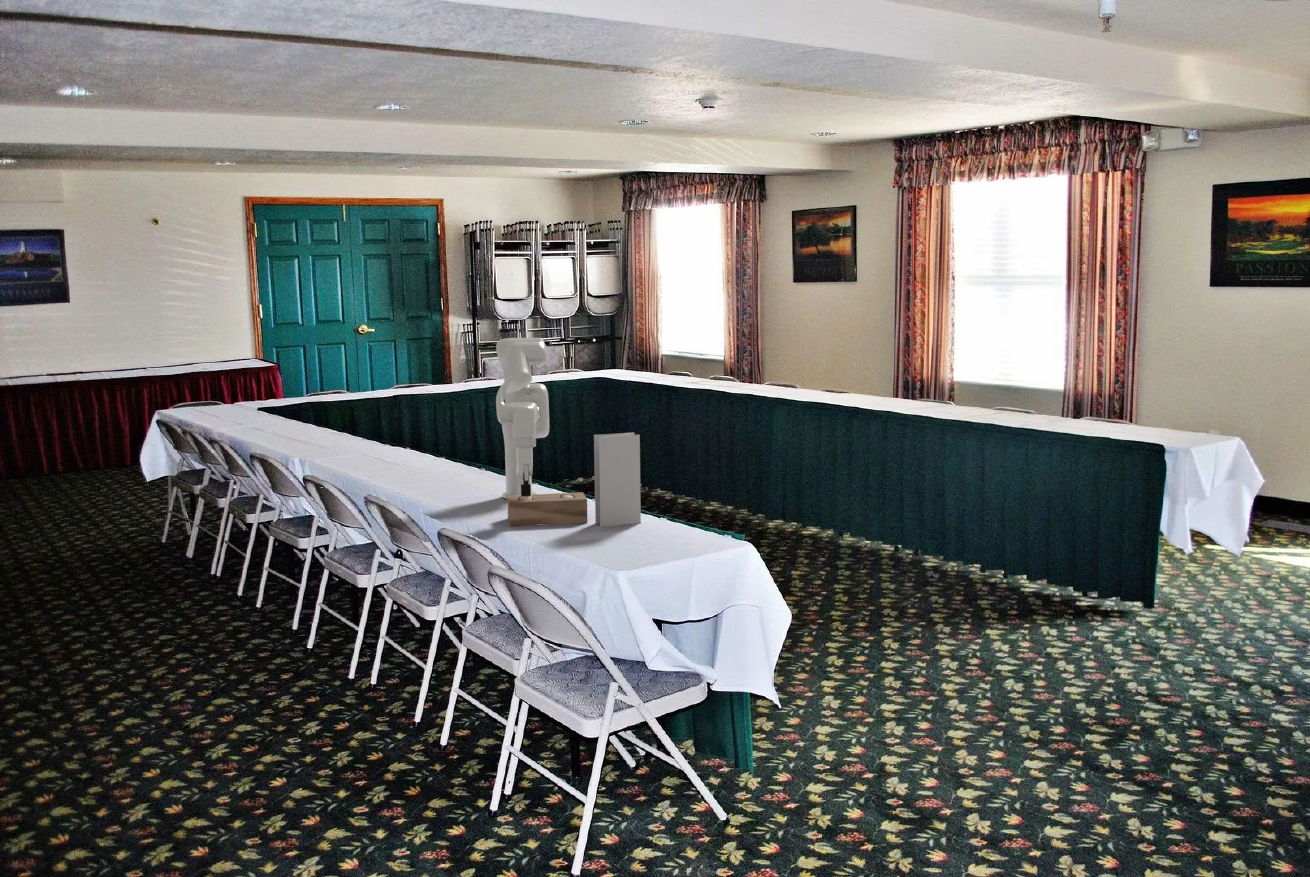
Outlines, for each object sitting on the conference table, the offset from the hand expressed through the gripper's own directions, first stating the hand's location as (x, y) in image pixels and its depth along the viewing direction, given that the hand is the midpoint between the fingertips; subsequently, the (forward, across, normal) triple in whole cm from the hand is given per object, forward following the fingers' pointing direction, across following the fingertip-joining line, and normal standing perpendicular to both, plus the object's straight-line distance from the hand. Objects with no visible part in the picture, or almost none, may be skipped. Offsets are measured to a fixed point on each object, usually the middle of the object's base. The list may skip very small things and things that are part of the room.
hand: (526, 495), depth 371 cm
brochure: (+9, +9, +30) cm, 33 cm away
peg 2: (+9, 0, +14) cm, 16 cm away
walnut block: (+9, 0, +7) cm, 11 cm away
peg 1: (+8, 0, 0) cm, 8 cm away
